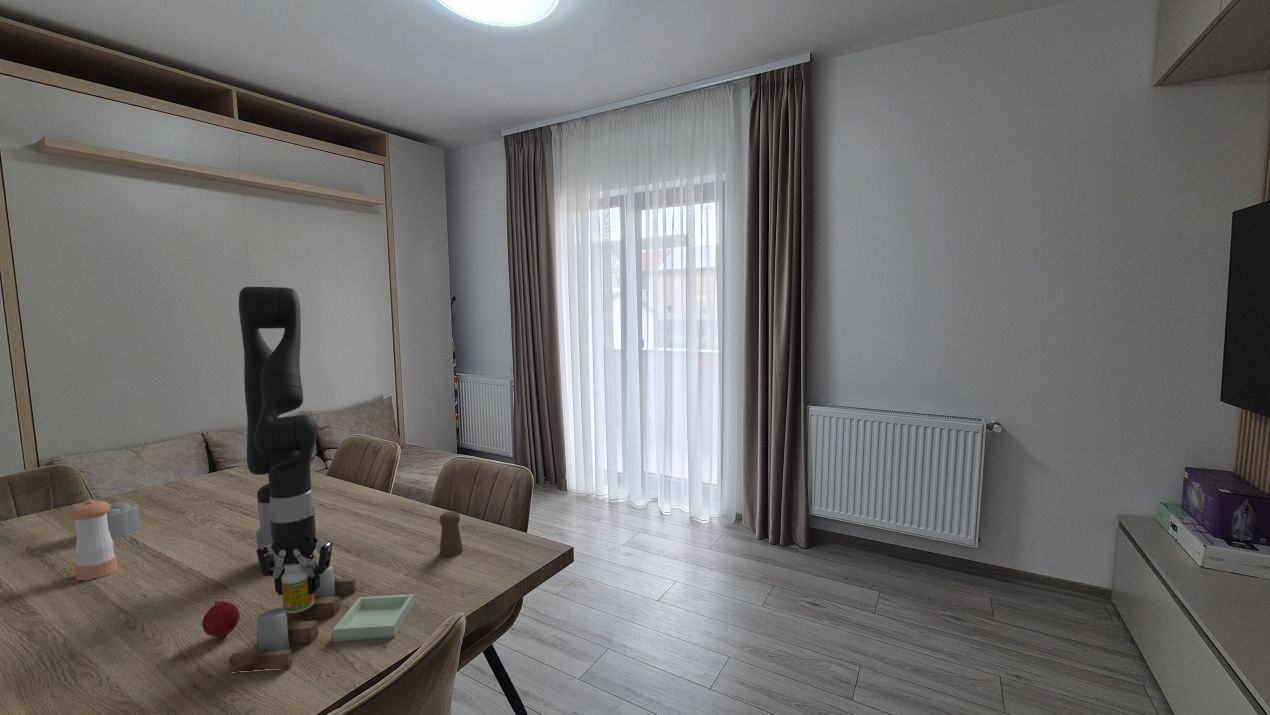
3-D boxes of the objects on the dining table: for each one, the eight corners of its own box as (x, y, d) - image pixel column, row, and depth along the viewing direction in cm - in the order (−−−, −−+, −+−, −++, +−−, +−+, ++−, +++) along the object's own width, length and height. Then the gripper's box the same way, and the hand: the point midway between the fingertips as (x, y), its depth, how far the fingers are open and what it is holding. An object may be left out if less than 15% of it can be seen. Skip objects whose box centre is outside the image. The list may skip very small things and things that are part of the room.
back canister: (307, 609, 113) (304, 574, 113) (318, 597, 118) (315, 564, 117) (329, 607, 114) (326, 572, 113) (339, 596, 118) (337, 562, 118)
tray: (333, 641, 102) (332, 629, 102) (360, 608, 113) (359, 597, 113) (394, 637, 103) (393, 625, 103) (414, 604, 114) (413, 594, 114)
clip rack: (230, 673, 93) (229, 657, 93) (311, 593, 120) (310, 580, 120) (288, 669, 94) (287, 653, 94) (356, 590, 121) (355, 578, 120)
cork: (455, 558, 136) (453, 518, 135) (434, 556, 137) (432, 516, 136) (467, 548, 142) (465, 509, 141) (447, 546, 143) (445, 507, 142)
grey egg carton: (75, 538, 152) (72, 509, 152) (134, 522, 163) (131, 496, 163) (85, 546, 147) (82, 516, 146) (146, 529, 158) (143, 502, 157)
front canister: (254, 664, 96) (250, 623, 95) (269, 648, 100) (266, 609, 99) (280, 662, 96) (276, 621, 95) (294, 646, 100) (291, 607, 100)
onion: (218, 629, 107) (214, 592, 106) (247, 627, 107) (244, 590, 106) (196, 647, 101) (193, 608, 100) (228, 645, 101) (224, 606, 100)
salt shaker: (124, 568, 133) (116, 496, 131) (86, 583, 126) (78, 506, 124) (107, 564, 135) (99, 493, 134) (69, 578, 128) (60, 503, 127)
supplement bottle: (291, 617, 103) (288, 570, 102) (278, 608, 106) (275, 563, 105) (319, 603, 108) (316, 559, 107) (306, 596, 111) (303, 552, 110)
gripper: (242, 522, 101) (249, 604, 102) (319, 520, 102) (325, 601, 103) (267, 507, 108) (273, 584, 110) (338, 505, 109) (343, 581, 111)
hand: (298, 592), depth 107 cm, fingers closed on supplement bottle, 5 cm apart
